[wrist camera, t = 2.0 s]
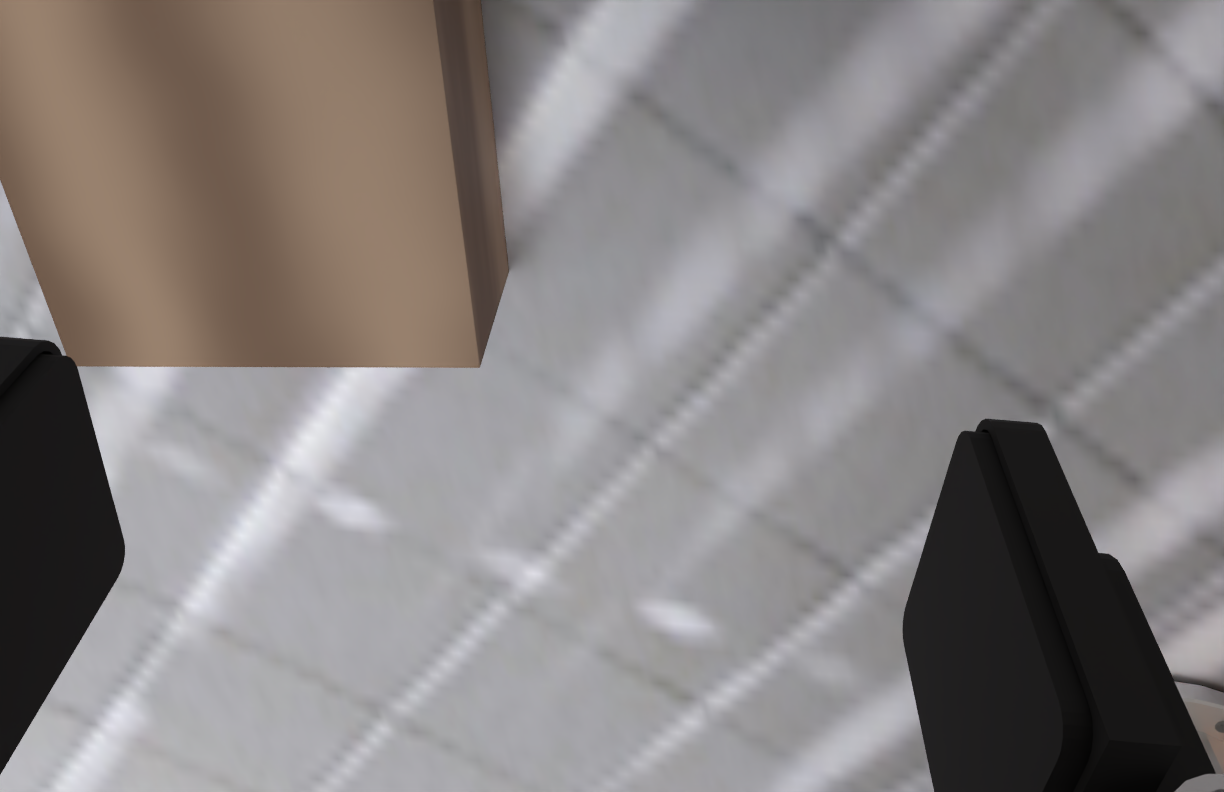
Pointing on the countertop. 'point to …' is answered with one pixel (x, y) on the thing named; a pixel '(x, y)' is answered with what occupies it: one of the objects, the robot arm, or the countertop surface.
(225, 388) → the countertop surface
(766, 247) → the countertop surface
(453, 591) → the countertop surface
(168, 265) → the walnut block
